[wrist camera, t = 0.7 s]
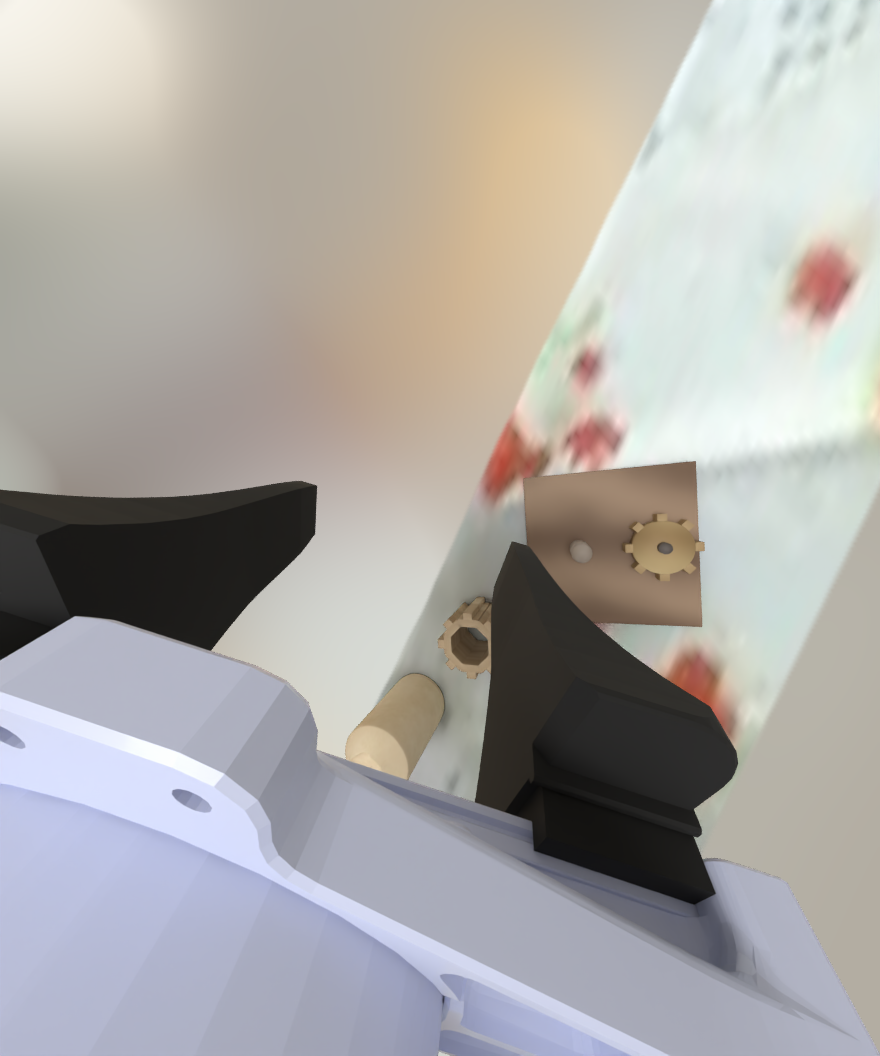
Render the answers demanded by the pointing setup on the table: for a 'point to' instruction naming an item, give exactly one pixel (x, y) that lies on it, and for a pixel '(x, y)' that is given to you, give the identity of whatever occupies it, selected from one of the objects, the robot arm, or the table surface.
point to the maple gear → (468, 638)
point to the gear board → (621, 541)
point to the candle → (398, 727)
